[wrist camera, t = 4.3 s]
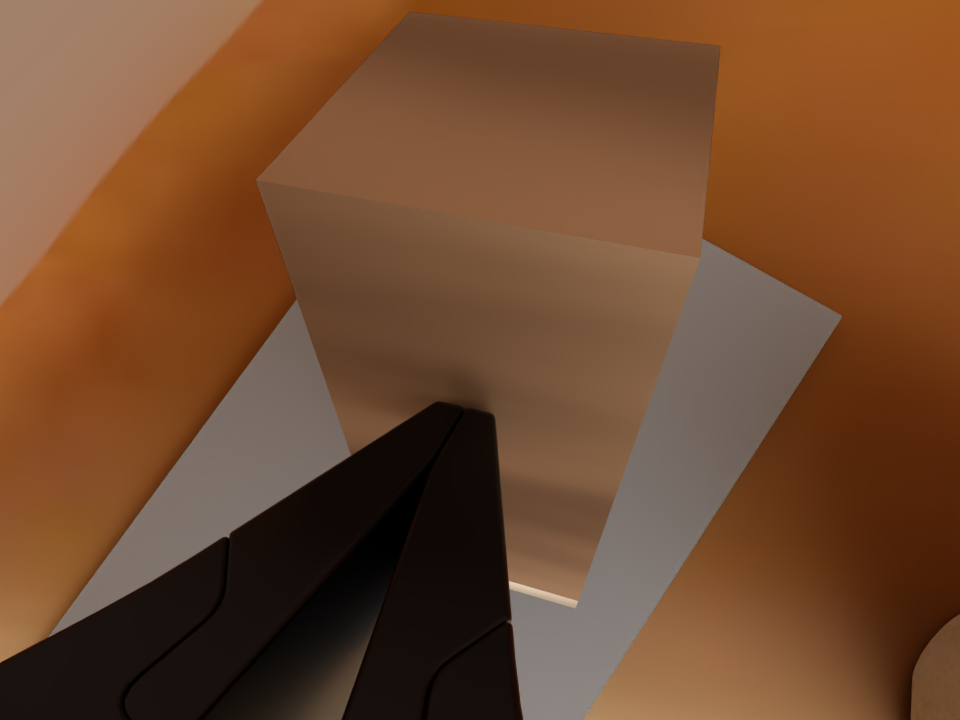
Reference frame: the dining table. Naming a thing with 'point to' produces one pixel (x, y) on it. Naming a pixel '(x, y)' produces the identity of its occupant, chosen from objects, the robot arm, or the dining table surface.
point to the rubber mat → (632, 519)
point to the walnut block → (504, 252)
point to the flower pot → (938, 676)
